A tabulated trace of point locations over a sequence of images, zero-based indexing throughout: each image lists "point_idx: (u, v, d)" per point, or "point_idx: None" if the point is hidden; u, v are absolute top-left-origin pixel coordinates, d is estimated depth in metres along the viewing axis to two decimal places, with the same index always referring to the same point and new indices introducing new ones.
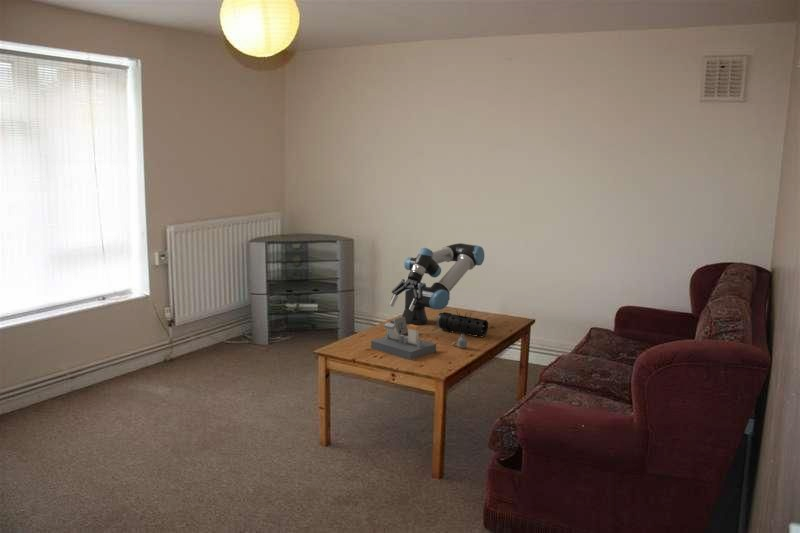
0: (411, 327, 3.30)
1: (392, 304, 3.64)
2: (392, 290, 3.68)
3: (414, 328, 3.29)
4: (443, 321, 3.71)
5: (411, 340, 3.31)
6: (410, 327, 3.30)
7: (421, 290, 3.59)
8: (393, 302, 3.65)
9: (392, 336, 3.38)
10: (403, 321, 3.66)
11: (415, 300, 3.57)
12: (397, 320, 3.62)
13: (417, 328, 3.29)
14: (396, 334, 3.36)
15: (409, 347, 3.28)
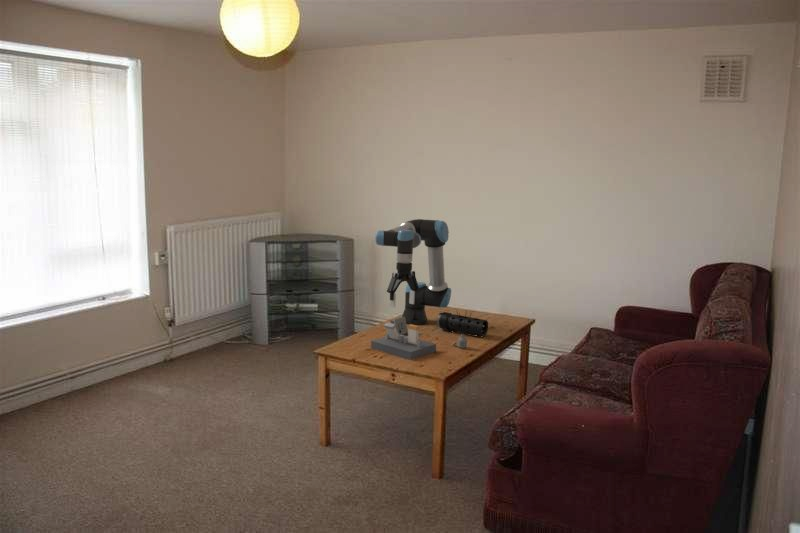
0: (411, 327, 3.30)
1: None
2: (391, 290, 3.15)
3: (414, 328, 3.29)
4: (443, 321, 3.71)
5: (411, 340, 3.31)
6: (410, 327, 3.30)
7: None
8: None
9: (392, 336, 3.38)
10: (403, 321, 3.66)
11: None
12: (397, 320, 3.62)
13: (417, 328, 3.29)
14: (396, 334, 3.36)
15: (409, 347, 3.28)
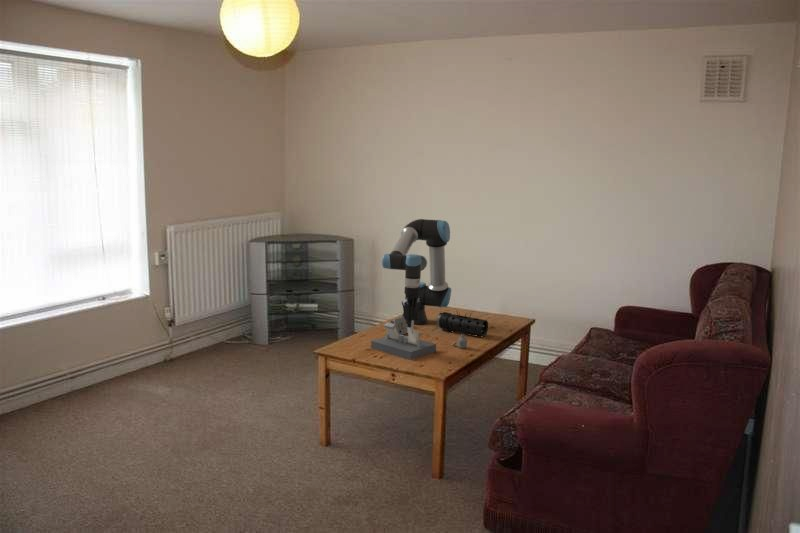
0: None
1: None
2: (408, 318, 3.25)
3: (415, 328, 3.29)
4: (443, 321, 3.71)
5: (411, 340, 3.31)
6: None
7: None
8: None
9: (392, 336, 3.38)
10: (403, 321, 3.66)
11: None
12: (397, 320, 3.62)
13: (418, 328, 3.29)
14: (396, 334, 3.36)
15: (409, 347, 3.28)
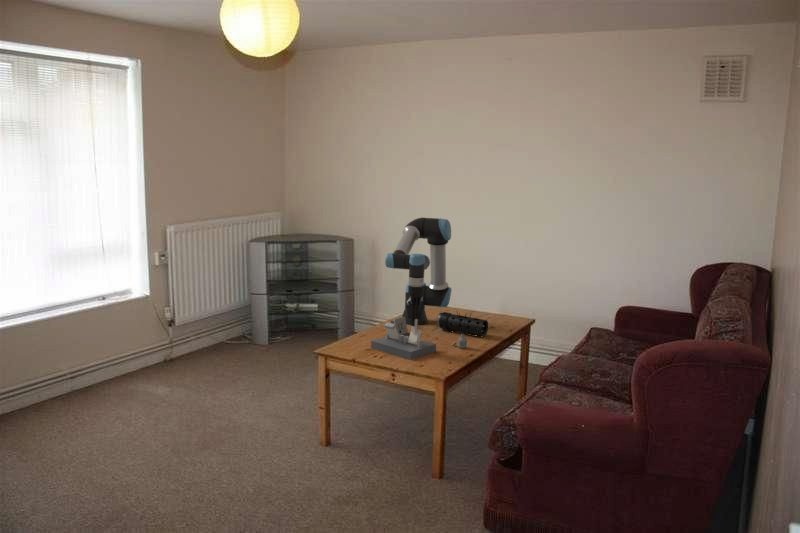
0: None
1: None
2: (411, 317, 3.27)
3: (418, 327, 3.31)
4: (443, 321, 3.71)
5: (412, 339, 3.31)
6: None
7: None
8: None
9: (392, 336, 3.38)
10: (403, 321, 3.66)
11: (416, 320, 3.31)
12: (397, 320, 3.62)
13: (421, 328, 3.31)
14: (396, 334, 3.36)
15: (409, 347, 3.28)
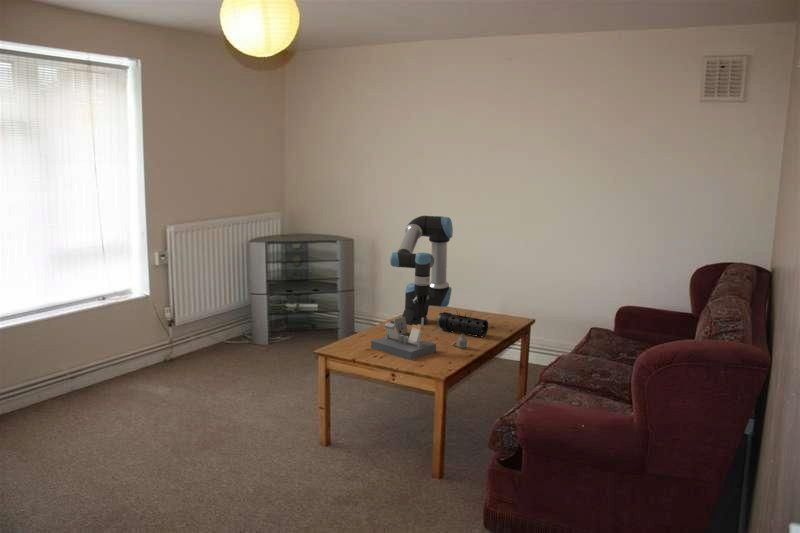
0: (416, 326, 3.33)
1: None
2: (418, 316, 3.30)
3: (418, 327, 3.31)
4: (443, 321, 3.71)
5: (412, 339, 3.32)
6: (414, 326, 3.33)
7: None
8: None
9: (392, 336, 3.38)
10: (403, 321, 3.66)
11: None
12: (397, 320, 3.62)
13: (421, 328, 3.31)
14: (396, 334, 3.36)
15: (409, 347, 3.28)
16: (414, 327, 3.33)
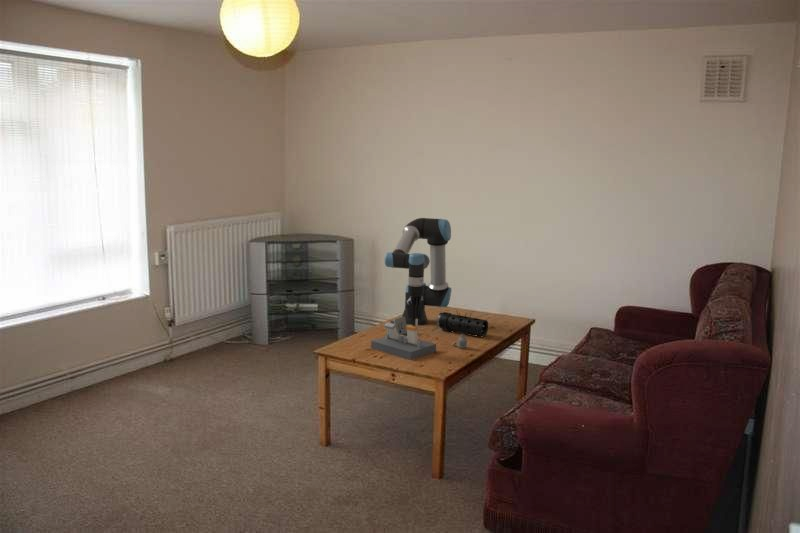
0: (409, 328, 3.29)
1: None
2: (412, 317, 3.26)
3: (412, 329, 3.28)
4: (443, 321, 3.71)
5: (411, 340, 3.31)
6: (408, 328, 3.29)
7: None
8: None
9: (392, 336, 3.38)
10: (403, 321, 3.66)
11: None
12: (397, 320, 3.62)
13: (415, 329, 3.28)
14: (396, 334, 3.36)
15: (409, 347, 3.28)
16: (408, 329, 3.30)
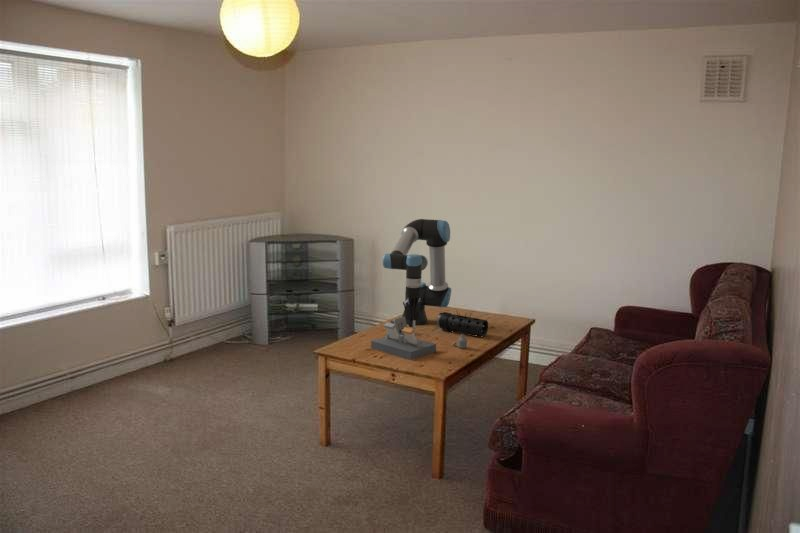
0: (406, 332, 3.27)
1: None
2: (409, 318, 3.25)
3: (409, 333, 3.26)
4: (443, 321, 3.71)
5: (410, 342, 3.31)
6: (405, 332, 3.28)
7: None
8: None
9: (392, 336, 3.38)
10: (403, 321, 3.66)
11: (414, 321, 3.29)
12: (397, 320, 3.62)
13: (412, 332, 3.26)
14: (396, 334, 3.36)
15: (409, 347, 3.28)
16: (405, 332, 3.28)
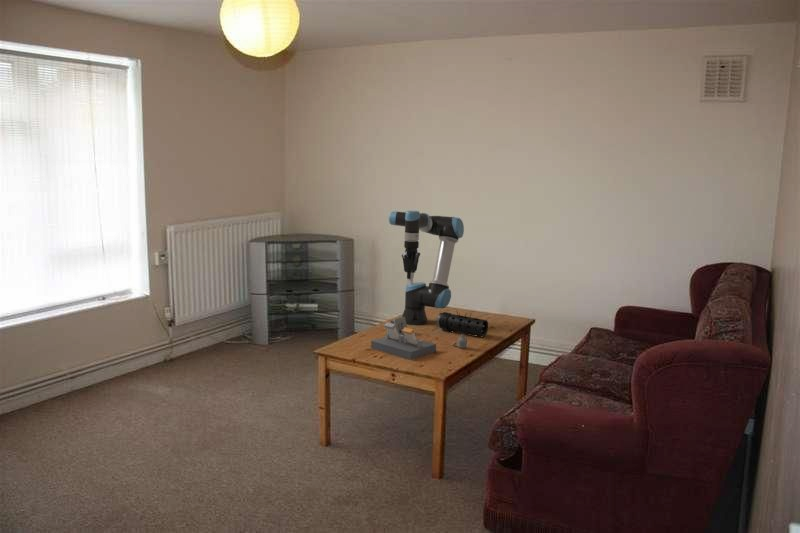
0: (406, 332, 3.27)
1: None
2: (407, 270, 3.48)
3: (409, 333, 3.26)
4: (443, 321, 3.71)
5: (410, 342, 3.31)
6: (405, 332, 3.28)
7: None
8: None
9: (392, 336, 3.38)
10: (403, 321, 3.66)
11: None
12: (397, 320, 3.62)
13: (412, 332, 3.26)
14: (396, 334, 3.36)
15: (409, 347, 3.28)
16: (405, 332, 3.28)
